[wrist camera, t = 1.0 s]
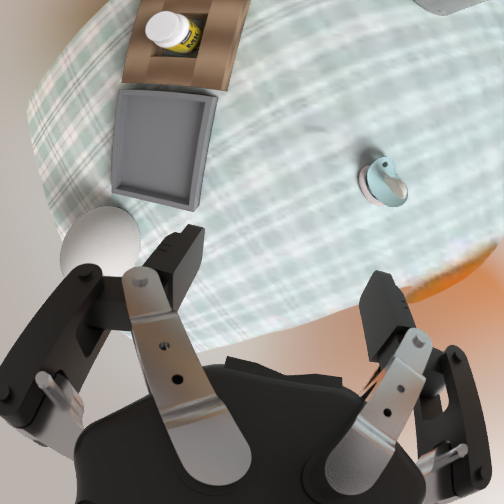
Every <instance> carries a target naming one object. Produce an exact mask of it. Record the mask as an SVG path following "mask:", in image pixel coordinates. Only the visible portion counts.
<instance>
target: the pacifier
mask: <svg viewBox="0 0 504 504" xmlns="http://www.w3.org/2000/svg"><path fill="white" fill-rule="evenodd" d="M384 162H387V166H386V167H383V166H382V164H383V163H384ZM366 175H367V181H368V185H369V187H370V189H371V191H372V193H373V194H374V196H375V197H376V198H375V197H373V196H372V195H371V194H370V193H369V191H368V189H367V187H366V182H365V178H366ZM359 184H360V187H361V190H362V192H363V194H364V195H365V197H366V198H367V199H368V200H369V201H370V202H371V203H373V204H375V205H378V206H384V205H386V206H389V207H398V206H401V205H403V204H404V203H405V202H406V200H407V197H408V190H407V187H406V185H405V183H404V182H403V181H402V180H401V179H400V178H399V177H397V176H396V175H395V164H394V162H393V161H392V159H390V158H388V157H380V158H378V159H376V160H375V161H374V162H373V163H372V164H371V165H367V166H365V167H363V168H362V169H361V171H360V174H359Z"/></svg>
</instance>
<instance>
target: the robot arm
mask: <svg viewBox="0 0 504 504" xmlns="http://www.w3.org/2000/svg"><path fill="white" fill-rule="evenodd" d="M414 1H415V2H416V3H418V4H419V5H420V6H421V7H423V8H424V9H426V10H427V11H430V12H432V13H434V14H437V15H443V16H445V15H449V14H452V13H454V12H457V11H459V10H462V9H465V8H468V7H470V6H473V5H476V4H479V3H482V2H485V1H488V0H414ZM204 234H205V228H203V227H199V226H195V225H190V224H188V225H187V226H186V227H185V229H184V230H183V231H182V232H181V233H177V232H174V233H172V234H170V235H168V236H166V237H165V238H164V240H163V241H162V242H161V244H159V246H158V247H157V249H155V251H154V252H153V253H152V254H151V256H150V257H149V258H148V259H147V261H146V262H145V263H144V264H143V266H142V267H134V268H131V269H129V270H127V271H126V272H125V273H124V274H123V276H122V277H115V276H103V273H102V269H101V268H100V267H99V266H98V265H96V264H92V263H85V264H81V265H78V266H76V267H75V268H74V269H72V270H71V272H70V273H69V274H68V275H67V276H66V277H65V279H64V280H63V281H62V282H61V283H60V284H59V286H58V287H57V288H56V289H55V291H54V292H53V293H52V294H51V295H50V296H49V298H48V299H47V300H46V302H45V303H44V304H43V305H42V307H41V308H40V309H39V310H38V312H37V313H36V314H35V316H34V317H33V318H32V320H31V321H30V322H29V324H28V325H27V327H26V328H25V329H24V331H23V332H22V334H21V335H20V337H19V338H18V339H17V341H16V342H15V344H14V346H13V347H12V348H11V350H10V351H9V353H8V355H7V356H6V358H5V359H4V361H3V363H2V364H1V366H0V416H1V417H2V418H4V419H5V420H6V421H7V423H8V424H9V425H11V426H12V427H13V428H15V429H16V430H17V431H18V432H20V433H21V434H23V435H24V436H25V437H27V438H29V439H31V440H33V441H34V442H36V443H38V444H39V445H41V446H44V447H50V448H52V449H53V450H55V451H57V452H58V453H60V454H61V455H63V456H65V457H67V458H69V459H71V460H72V461H74V465H75V470H76V478H77V497H76V502H75V504H447V503H450V502H453V501H455V500H458V499H461V498H463V497H466V496H468V495H471V494H473V493H475V492H478V491H480V490H482V489H484V488H486V486H487V485H488V484H489V482H490V480H491V476H492V465H491V457H490V450H489V442H488V436H487V431H486V425H485V421H484V416H483V412H482V407H481V404H480V399H479V396H478V392H477V388H476V385H475V382H474V379H473V375H472V372H471V369H470V366H469V363H468V360H467V357H466V355H465V353H464V352H463V351H462V350H461V349H460V348H459V347H457V346H454V345H450V346H448V347H447V348H446V350H445V351H444V352H442V351H440V350H438V349H436V348H433V347H432V341H431V339H430V338H429V336H428V335H427V334H426V333H425V332H424V331H422V330H420V329H418V328H416V325H415V323H414V320H413V317H412V315H411V312H410V309H409V307H408V304H407V303H406V299H405V297H404V294H403V293H402V292H401V290H400V289H399V288H398V287H397V286H396V285H395V283H394V280H393V278H392V276H391V274H389V273H385V272H381V271H377V270H376V271H374V273H373V274H372V276H371V278H370V280H369V282H368V284H367V286H366V288H365V289H364V291H363V293H362V295H361V298H360V301H359V309H360V314H361V318H362V323H363V328H364V333H365V339H366V344H367V350H368V356H369V361H370V362H378V363H379V365H380V366H379V367H378V368H377V369H376V370H375V372H374V373H373V375H372V376H371V378H370V379H369V380H368V382H367V383H366V385H365V386H364V388H363V389H362V390H361V391H360V393H359V394H358V395H357V394H356V393H355V392H353V391H352V390H350V389H348V388H346V387H344V386H342V377H335V376H327V375H320V374H306V375H283V374H281V373H278V372H276V371H274V370H272V369H269V368H267V367H264V366H262V365H260V364H258V363H255V362H250V361H246V360H241V359H237V358H233V357H229V356H227V358H226V362H225V364H213V365H207V366H201V364H200V362H199V359H198V357H197V355H196V353H195V351H194V349H193V347H192V344H191V342H190V340H189V338H188V335H187V333H186V331H185V329H184V326H183V324H182V322H181V319H180V317H179V315H178V313H177V311H178V309H179V307H180V305H181V303H182V301H183V299H184V297H185V295H186V293H187V291H188V289H189V287H190V285H191V283H192V281H193V280H194V278H195V276H196V274H197V272H198V270H199V267H200V264H201V260H202V253H203V244H204ZM111 330H121V331H131V334H132V338H133V342H134V345H135V349H136V353H137V356H138V359H139V363H140V366H141V370H142V373H143V376H144V380H145V383H146V386H147V389H148V392H149V394H148V395H146V396H145V397H143V398H141V399H139V400H137V401H135V402H133V403H132V404H129V405H128V406H126V407H124V408H122V409H120V410H118V411H116V412H114V413H112V414H110V415H108V416H106V417H104V418H102V419H99V420H97V421H95V422H93V423H92V424H90V425H89V426H87V427H86V428H85V429H84V428H83V424H82V417H83V413H84V404H83V401H82V399H81V397H80V396H79V391H80V389H81V387H82V385H83V383H84V381H85V379H86V377H87V375H88V373H89V371H90V369H91V367H92V365H93V363H94V361H95V359H96V357H97V355H98V354H99V352H100V349H101V348H102V346H103V344H104V342H105V340H106V338H107V337H108V335H109V333H110V331H111ZM444 388H446V389H447V393H448V398H449V405H448V407H447V409H446V410H445V411H444V412H443V411H442V406H441V400H440V396H439V393H440V392H441V391H442V390H443V389H444ZM413 408H414V416H415V425H416V435H417V449H418V461H417V463H416V464H415V463H414V462H413V461H412V459H411V458H410V457H409V456H408V454H407V453H406V452H405V451H404V449H403V448H402V447H401V446H400V444H399V443H398V442H397V439H398V437H399V435H400V434H401V432H402V430H403V428H404V426H405V424H406V422H407V420H408V418H409V416H410V414H411V412H412V410H413Z"/></svg>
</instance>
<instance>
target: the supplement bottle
mask: <svg viewBox="0 0 504 504" xmlns="http://www.w3.org/2000/svg"><path fill="white" fill-rule="evenodd" d="M145 32H146V35H147V37H148V38H149V39H150V40H152V41H154V43H155V44H156V45H158V46H160V47H162V48H165V49H168V50H171V51H174V52H176V53H179V54H190V53H193V52H195V51H196V50H197V49H199V48H200V44H201V40H202V36H203V31H202V29H201V28H200V27H199V26H197V25H196V24H195V23H193V22H192V21H190V20H189V19H188V18H186V17H185V16H183V15H181V14H176V13H173V12H170V11H163V12H160V13H157V14H155V15H154V16H153V17H152V18H151V19H150V20H149V21H148V23H147V25H146V29H145Z"/></svg>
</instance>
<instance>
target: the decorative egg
mask: <svg viewBox="0 0 504 504" xmlns="http://www.w3.org/2000/svg"><path fill="white" fill-rule="evenodd" d="M140 246H141V237H140V231H139V228H138V226H137V224H136V222H135V220H134V219H133V218H132V216H130V215H129V214H128V213H127V212H126V211H124V210H122V209H120V208H117V207H112V206H102V207H97V208H94V209H92V210H90V211H88V212H86V213H84V214H83V215H82V216H80V217H79V218H78V219H77V220H76V221H75V222H74V224H73V225H72V226H71V228H70V229H69V231H68V232H67V234H66V236H65V238H64V241H63V244H62V248H61V253H60V266H61V271H62V274H63V276H64V278H65V277H66V276H67V275H68V274H69V273H70V272H71V270H72V269H74V268H75V267H76V266H78V265H81V264H85V263H92V264H96V265H98V266H99V267H100V268H101V269H102V273H103V276H115V277H122V276H123V274H124V273H125V272H126V271H127V270H129V269H131V268H133V266H134V264H135V263H136V261H137V258H138V256H139V252H140Z"/></svg>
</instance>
